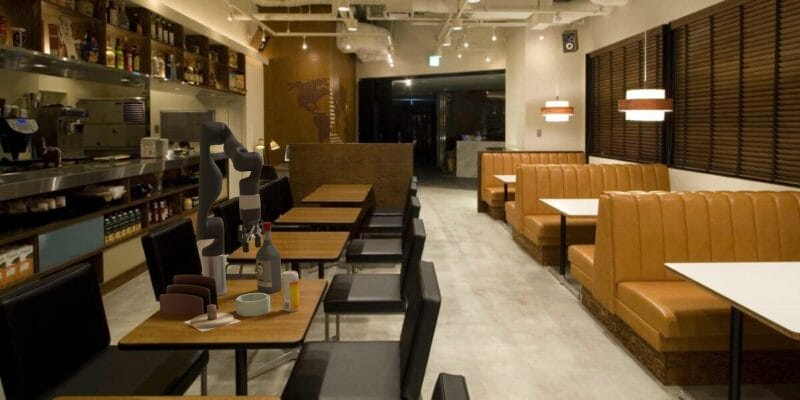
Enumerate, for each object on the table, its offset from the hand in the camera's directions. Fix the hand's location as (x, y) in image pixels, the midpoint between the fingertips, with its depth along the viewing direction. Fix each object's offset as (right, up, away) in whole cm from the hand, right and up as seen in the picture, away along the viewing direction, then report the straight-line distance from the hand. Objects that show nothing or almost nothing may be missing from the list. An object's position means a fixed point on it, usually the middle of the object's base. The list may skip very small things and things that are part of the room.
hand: (252, 249), depth 221 cm
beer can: (+13, -25, +12) cm, 30 cm away
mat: (-14, -27, -2) cm, 30 cm away
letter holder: (-27, -26, +12) cm, 39 cm away
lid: (-14, -26, -2) cm, 30 cm away
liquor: (-2, -21, +40) cm, 46 cm away
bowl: (-2, -25, +9) cm, 27 cm away
